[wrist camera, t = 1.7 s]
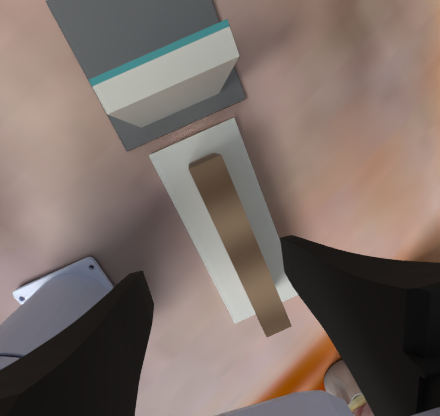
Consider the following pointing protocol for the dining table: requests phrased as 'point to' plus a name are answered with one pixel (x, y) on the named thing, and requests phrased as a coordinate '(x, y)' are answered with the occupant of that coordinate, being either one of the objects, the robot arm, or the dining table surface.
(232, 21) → the dining table surface
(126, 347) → the robot arm
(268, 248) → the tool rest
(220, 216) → the bar
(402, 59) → the dining table surface
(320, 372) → the dining table surface
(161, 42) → the mat
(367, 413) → the cupcake
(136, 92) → the tile
